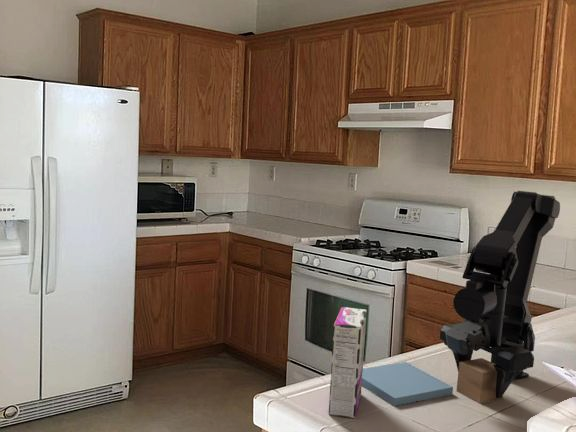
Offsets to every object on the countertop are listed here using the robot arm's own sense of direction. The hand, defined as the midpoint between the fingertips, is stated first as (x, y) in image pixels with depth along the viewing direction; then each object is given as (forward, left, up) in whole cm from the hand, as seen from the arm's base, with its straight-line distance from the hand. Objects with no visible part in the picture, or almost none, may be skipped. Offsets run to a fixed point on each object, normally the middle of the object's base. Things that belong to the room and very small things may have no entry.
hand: (479, 388), depth 122 cm
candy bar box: (+27, -6, -2) cm, 28 cm away
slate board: (+12, -9, -1) cm, 15 cm away
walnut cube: (0, 0, -1) cm, 1 cm away
